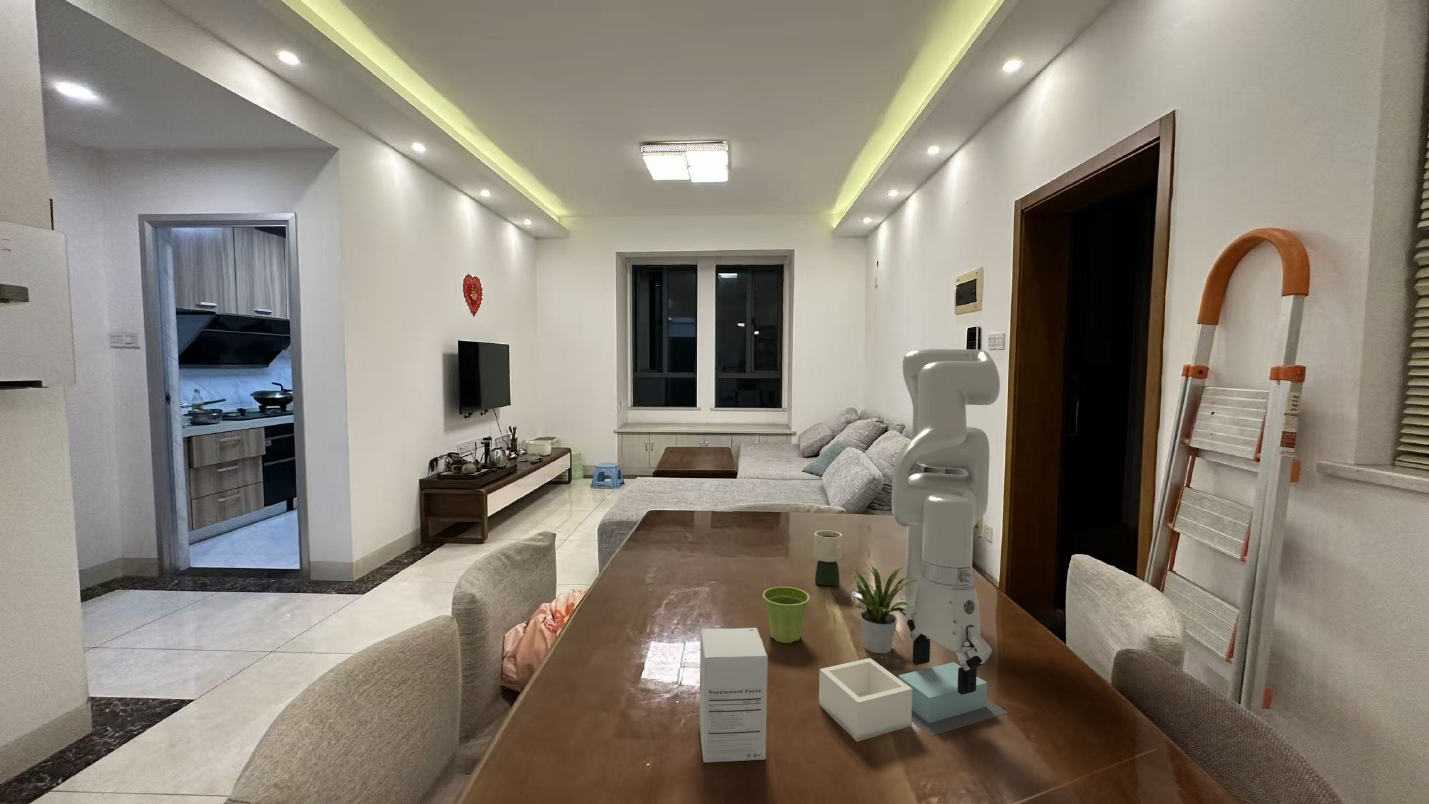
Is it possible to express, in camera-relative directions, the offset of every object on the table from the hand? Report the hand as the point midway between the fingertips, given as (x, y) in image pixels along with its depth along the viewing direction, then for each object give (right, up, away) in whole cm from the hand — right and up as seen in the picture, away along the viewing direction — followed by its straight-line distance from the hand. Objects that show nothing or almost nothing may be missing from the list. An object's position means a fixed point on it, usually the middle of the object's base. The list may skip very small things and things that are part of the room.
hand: (942, 677), depth 92 cm
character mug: (-8, -2, +54) cm, 54 cm away
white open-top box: (-14, -5, -3) cm, 15 cm away
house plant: (-4, -4, +20) cm, 21 cm away
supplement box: (-35, -5, -9) cm, 36 cm away
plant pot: (-23, -4, +24) cm, 33 cm away
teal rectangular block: (0, -5, +1) cm, 5 cm away
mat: (0, -5, +1) cm, 5 cm away
